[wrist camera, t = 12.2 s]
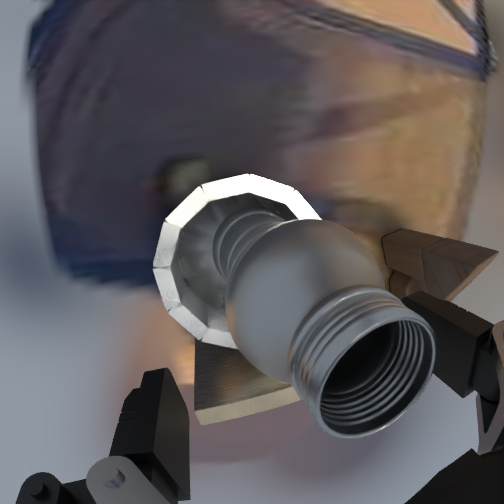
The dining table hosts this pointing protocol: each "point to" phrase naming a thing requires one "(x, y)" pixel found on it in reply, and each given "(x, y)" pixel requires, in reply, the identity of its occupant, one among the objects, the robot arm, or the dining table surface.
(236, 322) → the plastic bottle
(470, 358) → the robot arm
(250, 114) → the dining table surface
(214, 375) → the ring
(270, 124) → the dining table surface
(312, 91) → the dining table surface
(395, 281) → the wooden wedge with rod
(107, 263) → the dining table surface
